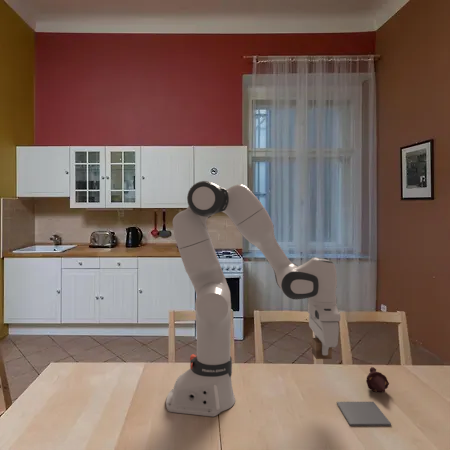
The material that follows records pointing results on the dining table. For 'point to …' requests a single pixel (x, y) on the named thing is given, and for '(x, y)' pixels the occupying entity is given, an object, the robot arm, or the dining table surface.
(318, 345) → the cube
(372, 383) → the icecream
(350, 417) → the coaster
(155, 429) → the dining table surface
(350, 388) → the dining table surface
